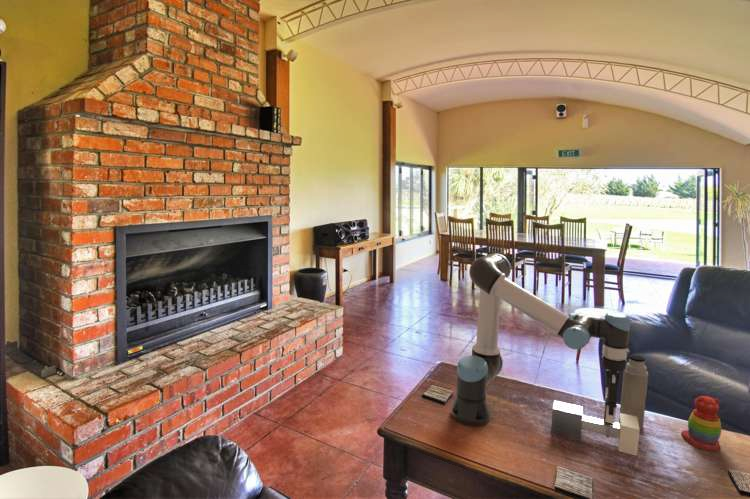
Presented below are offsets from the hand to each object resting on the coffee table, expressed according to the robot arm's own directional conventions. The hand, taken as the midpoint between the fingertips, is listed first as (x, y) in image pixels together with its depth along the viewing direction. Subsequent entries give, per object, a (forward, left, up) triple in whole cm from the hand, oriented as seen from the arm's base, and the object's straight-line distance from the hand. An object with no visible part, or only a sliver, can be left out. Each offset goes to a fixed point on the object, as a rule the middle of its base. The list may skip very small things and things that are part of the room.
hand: (609, 413), depth 149 cm
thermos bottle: (+8, +16, -11) cm, 21 cm away
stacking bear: (+30, +15, -11) cm, 36 cm away
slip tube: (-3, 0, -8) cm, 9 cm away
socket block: (+6, 0, -11) cm, 13 cm away
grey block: (-14, 0, -11) cm, 17 cm away
